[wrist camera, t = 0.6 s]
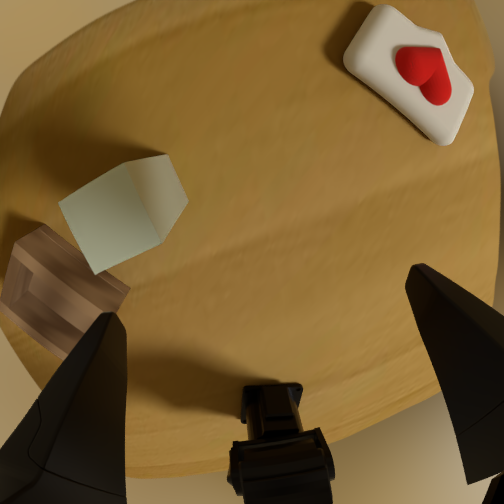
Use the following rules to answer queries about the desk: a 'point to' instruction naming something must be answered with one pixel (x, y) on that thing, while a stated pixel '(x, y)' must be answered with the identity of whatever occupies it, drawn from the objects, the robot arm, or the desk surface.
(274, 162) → the desk surface
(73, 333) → the wooden channel cradle
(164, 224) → the clay bar
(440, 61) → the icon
